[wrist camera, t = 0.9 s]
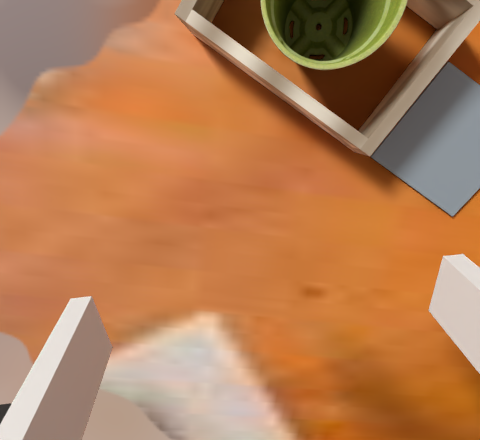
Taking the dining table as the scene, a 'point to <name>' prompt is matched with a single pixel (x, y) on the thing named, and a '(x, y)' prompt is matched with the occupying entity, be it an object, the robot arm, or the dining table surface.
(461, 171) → the mat
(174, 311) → the dining table surface
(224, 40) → the frame
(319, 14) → the plant pot
